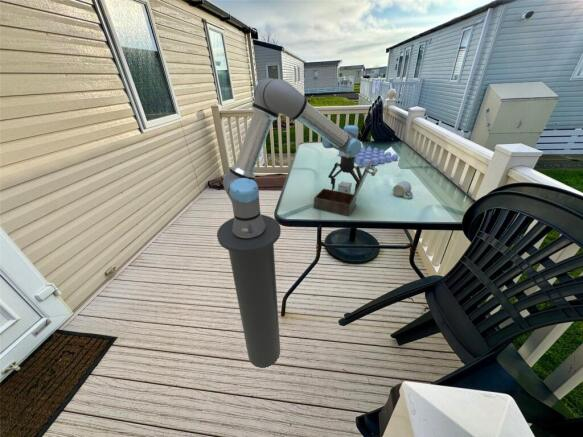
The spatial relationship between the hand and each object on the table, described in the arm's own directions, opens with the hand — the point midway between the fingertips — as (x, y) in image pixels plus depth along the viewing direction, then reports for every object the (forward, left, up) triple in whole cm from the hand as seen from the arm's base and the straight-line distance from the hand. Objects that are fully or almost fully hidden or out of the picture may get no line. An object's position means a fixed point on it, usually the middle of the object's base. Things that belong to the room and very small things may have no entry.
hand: (344, 191), depth 144 cm
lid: (+12, -16, +14) cm, 24 cm away
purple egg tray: (-4, +77, -2) cm, 77 cm away
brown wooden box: (0, -16, -2) cm, 16 cm away
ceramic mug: (+31, +15, -2) cm, 35 cm away
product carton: (0, 0, -2) cm, 2 cm away
